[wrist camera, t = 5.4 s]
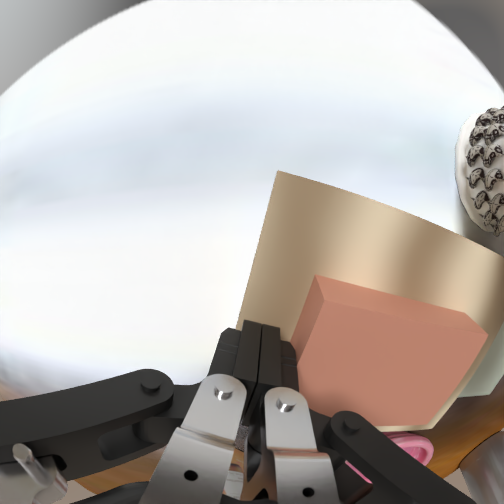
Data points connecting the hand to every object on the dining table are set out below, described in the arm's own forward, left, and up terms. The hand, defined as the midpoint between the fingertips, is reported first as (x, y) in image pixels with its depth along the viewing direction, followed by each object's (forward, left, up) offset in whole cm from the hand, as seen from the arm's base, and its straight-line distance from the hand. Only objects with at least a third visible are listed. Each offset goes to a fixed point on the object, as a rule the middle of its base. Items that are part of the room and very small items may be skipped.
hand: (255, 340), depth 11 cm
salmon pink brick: (-6, 0, -1) cm, 6 cm away
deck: (-7, 0, -5) cm, 9 cm away
